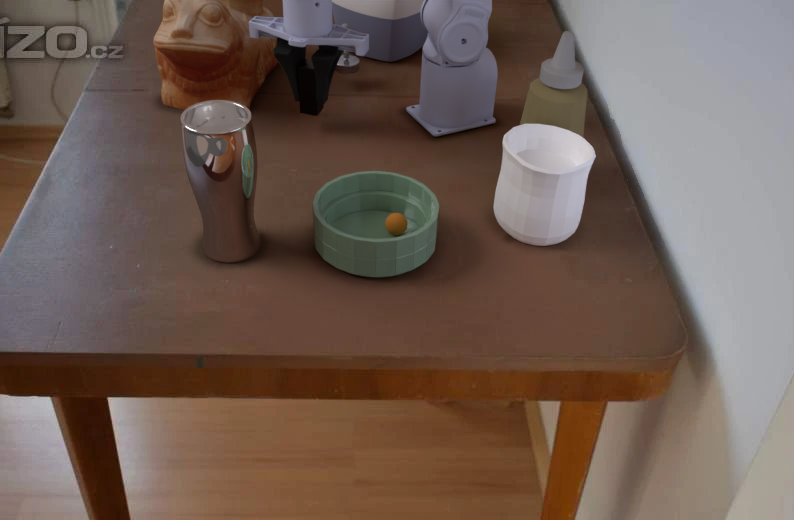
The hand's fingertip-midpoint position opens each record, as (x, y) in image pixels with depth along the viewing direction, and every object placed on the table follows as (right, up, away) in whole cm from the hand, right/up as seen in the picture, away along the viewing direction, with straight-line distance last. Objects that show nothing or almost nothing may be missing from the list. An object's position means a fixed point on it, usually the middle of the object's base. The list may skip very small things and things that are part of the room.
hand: (311, 100), depth 105 cm
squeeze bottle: (+28, -11, -4) cm, 31 cm away
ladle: (+2, +3, +6) cm, 7 cm away
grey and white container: (+9, +15, +22) cm, 28 cm away
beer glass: (-7, -20, -16) cm, 27 cm away
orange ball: (+11, -18, -15) cm, 26 cm away
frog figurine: (-14, +5, +11) cm, 18 cm away
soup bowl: (+8, -20, -15) cm, 26 cm away
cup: (+26, -17, -11) cm, 33 cm away
